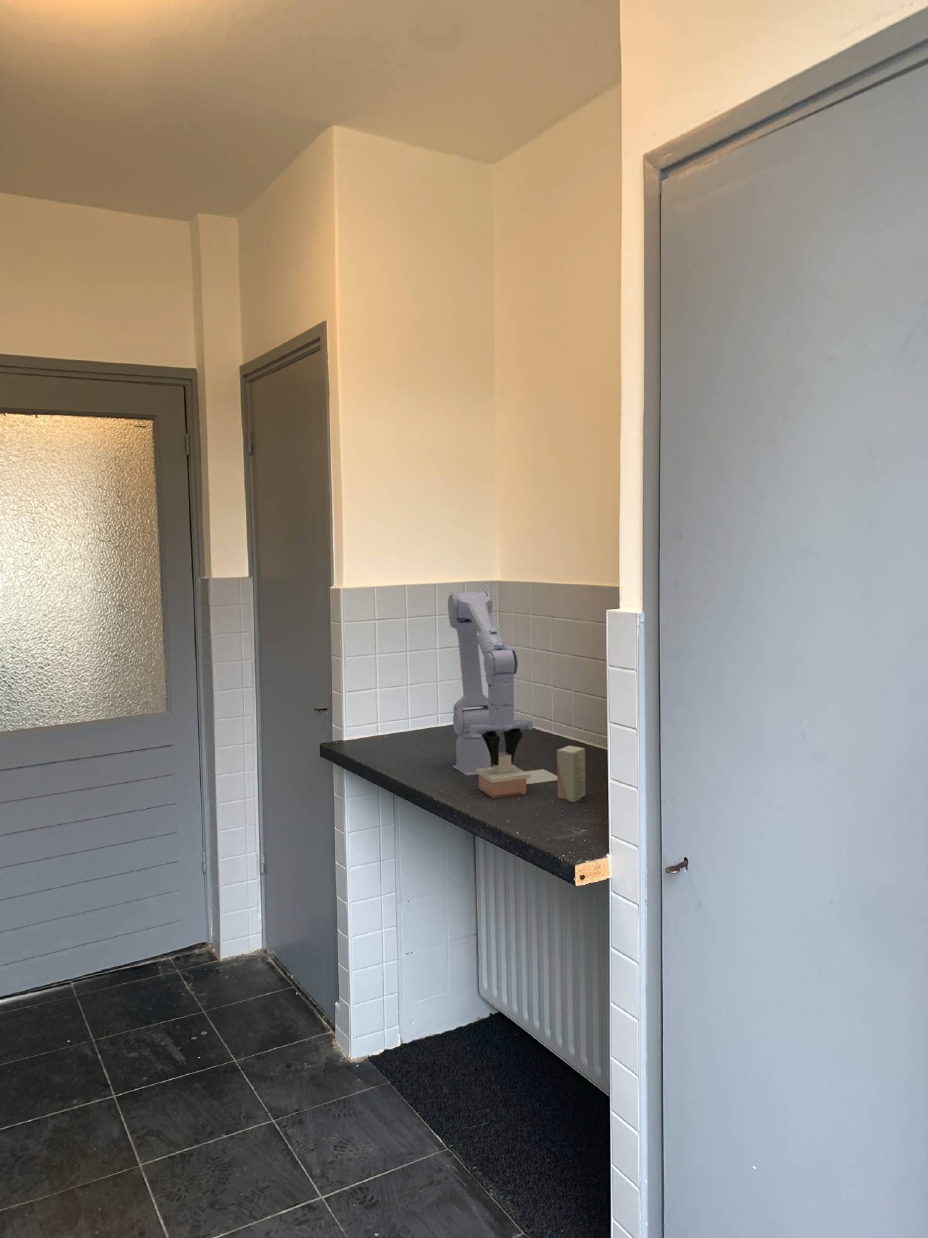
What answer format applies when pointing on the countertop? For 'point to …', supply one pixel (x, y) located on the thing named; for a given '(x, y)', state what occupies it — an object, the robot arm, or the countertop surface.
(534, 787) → the countertop surface
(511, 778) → the lid
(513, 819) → the countertop surface
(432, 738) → the countertop surface
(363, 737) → the countertop surface
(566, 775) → the box
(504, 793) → the dish
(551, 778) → the mat
